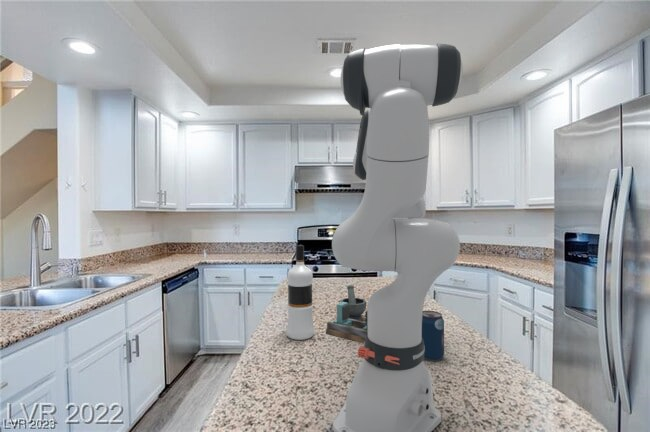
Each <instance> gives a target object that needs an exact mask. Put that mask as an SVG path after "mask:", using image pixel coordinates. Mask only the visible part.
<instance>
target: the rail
mask: <svg viewBox="0 0 650 432" xmlns="http://www.w3.org/2000/svg"><path fill="white" fill-rule="evenodd" d="M364 316H365V320H364V321H362V320H360V321H359V320H355V319H350V318H348V320H350V321H352V327H350V326H346V325H342V324H337V323H333V321H328V322H326V329H325V334H327V335H329V336H330V335H331V336H333V337H338V338H343V339H346V340H350V341H353V340H354V341H355V342H357V341H358V342H357V343H361V344H364V342H365V339H366V335H367V333H368V316H367V310H365V311H364Z"/></svg>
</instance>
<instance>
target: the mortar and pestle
mask: <svg viewBox="0 0 650 432" xmlns="http://www.w3.org/2000/svg"><path fill="white" fill-rule="evenodd" d="M346 289H347V297H346V298H342V299H341V300H340V303H341V302H347V303H348V305H349V318H350V319H355V320H359V321H362V315H363V314H365V312H366V309H367V301H366V300H365V299H363V298H361V297H360V298H359V297H356V294H355V290H354V289H355V286H354V285H353V284H349V285H348V286H346Z"/></svg>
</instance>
